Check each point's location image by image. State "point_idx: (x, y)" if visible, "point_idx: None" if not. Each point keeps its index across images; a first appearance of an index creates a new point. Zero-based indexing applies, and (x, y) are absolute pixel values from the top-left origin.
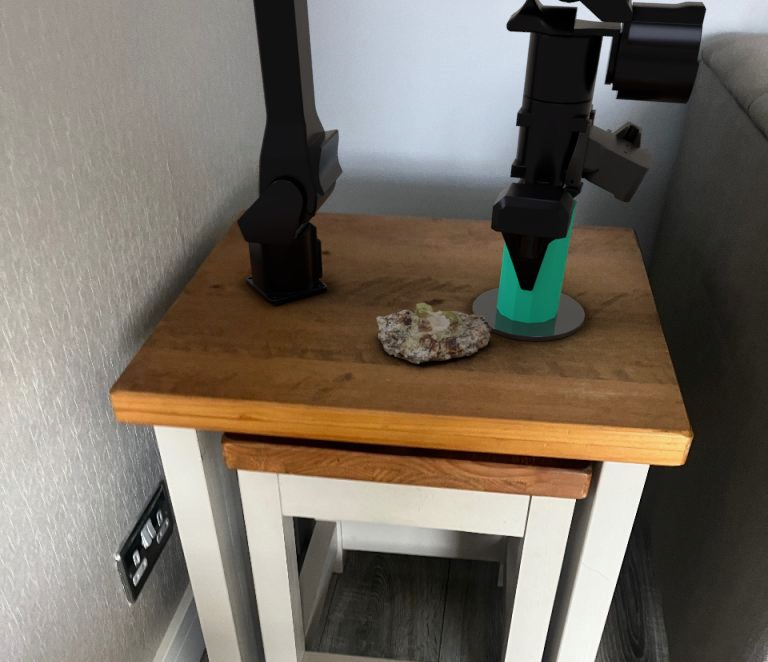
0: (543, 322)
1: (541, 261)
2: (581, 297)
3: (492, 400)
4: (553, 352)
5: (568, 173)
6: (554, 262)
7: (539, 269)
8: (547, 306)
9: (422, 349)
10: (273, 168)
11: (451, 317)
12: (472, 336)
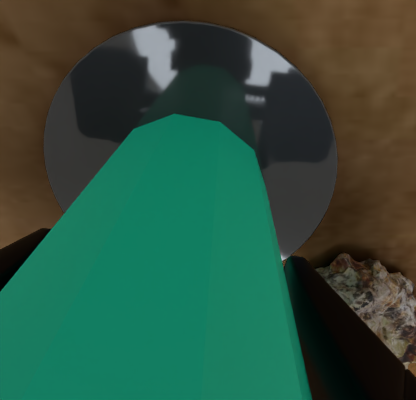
0: (256, 151)
1: (408, 373)
2: (23, 30)
3: None
4: (395, 114)
5: None
6: (275, 277)
7: (368, 328)
8: (254, 167)
9: None
10: None
11: None
12: (398, 303)
